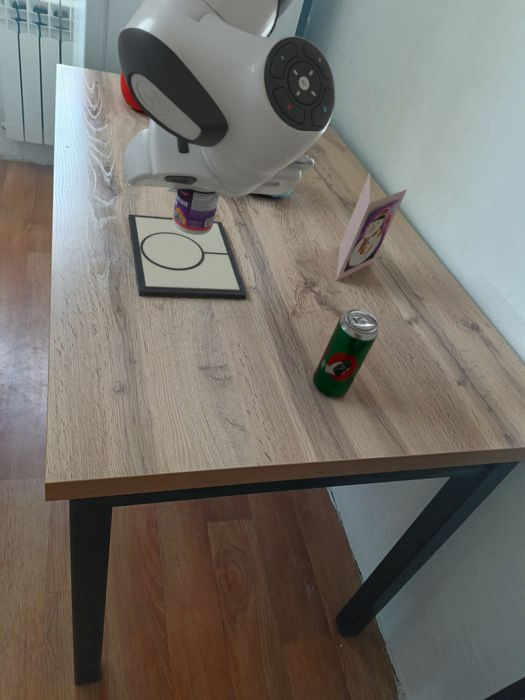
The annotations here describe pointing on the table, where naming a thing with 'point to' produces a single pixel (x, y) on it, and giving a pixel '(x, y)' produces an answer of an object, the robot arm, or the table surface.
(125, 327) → the table surface
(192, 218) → the pill bottle
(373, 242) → the greeting card
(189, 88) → the robot arm
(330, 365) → the soda can
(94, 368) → the table surface
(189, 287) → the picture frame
